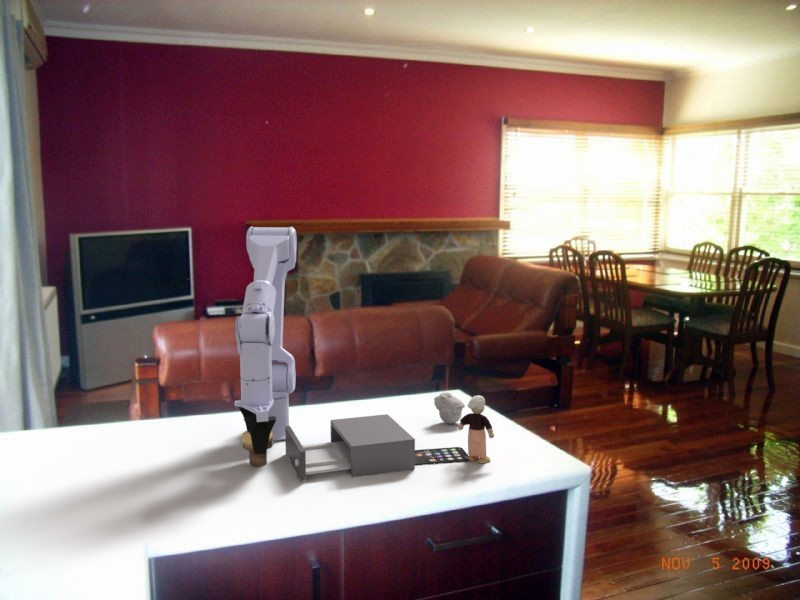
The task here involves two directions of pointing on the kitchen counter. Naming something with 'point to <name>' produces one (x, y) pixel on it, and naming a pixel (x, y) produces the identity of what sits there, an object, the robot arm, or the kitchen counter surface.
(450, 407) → the grey rounded lumpy piece
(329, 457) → the tray
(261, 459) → the brown domed cylinder
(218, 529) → the kitchen counter surface
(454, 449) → the smartphone
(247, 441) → the disc
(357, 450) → the housing
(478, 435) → the grandmother figurine
